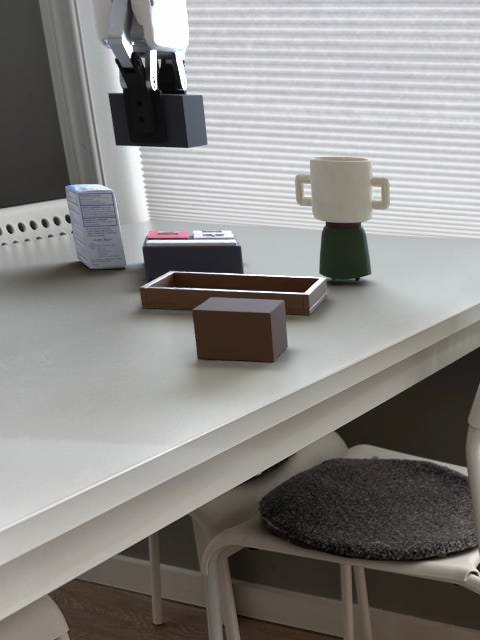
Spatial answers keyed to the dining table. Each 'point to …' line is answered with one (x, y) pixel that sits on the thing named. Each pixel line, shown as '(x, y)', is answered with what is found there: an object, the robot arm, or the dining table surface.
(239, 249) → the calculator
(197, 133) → the pad
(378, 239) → the dining table surface
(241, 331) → the pad
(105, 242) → the medicine box
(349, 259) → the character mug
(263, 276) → the tray
